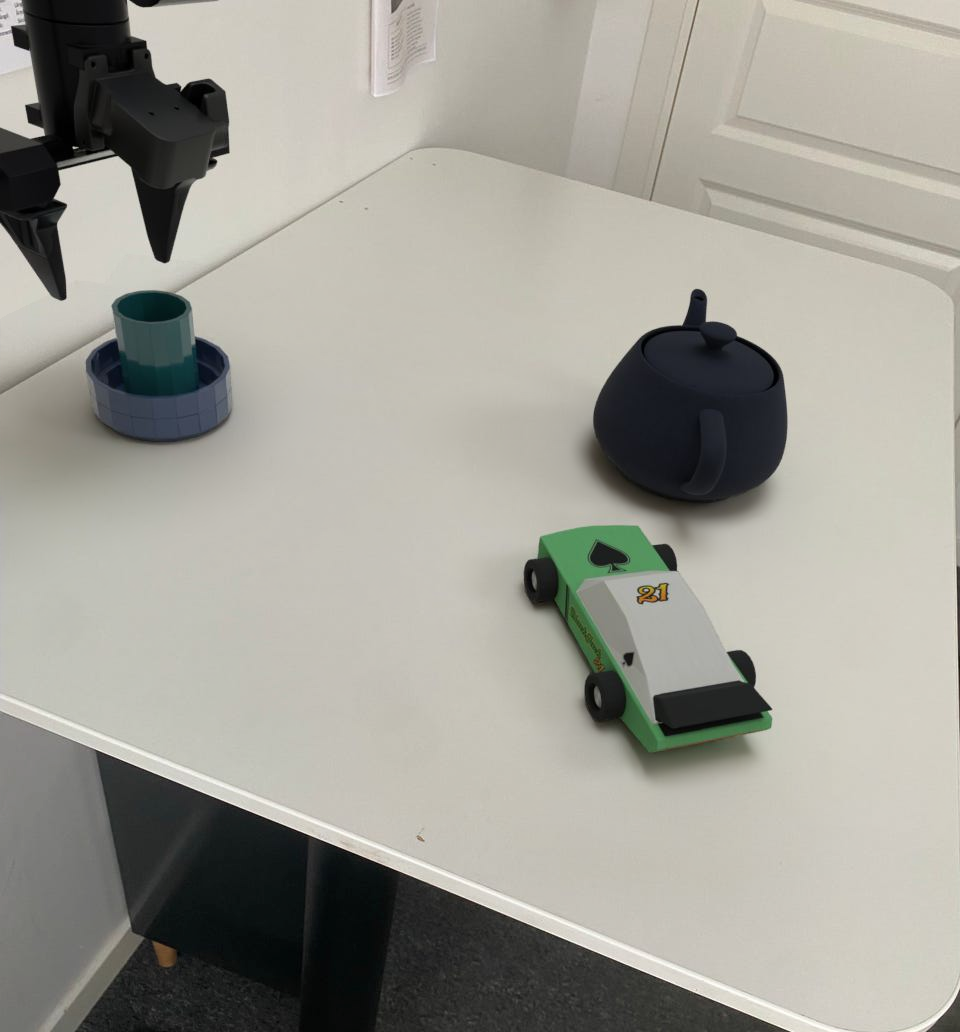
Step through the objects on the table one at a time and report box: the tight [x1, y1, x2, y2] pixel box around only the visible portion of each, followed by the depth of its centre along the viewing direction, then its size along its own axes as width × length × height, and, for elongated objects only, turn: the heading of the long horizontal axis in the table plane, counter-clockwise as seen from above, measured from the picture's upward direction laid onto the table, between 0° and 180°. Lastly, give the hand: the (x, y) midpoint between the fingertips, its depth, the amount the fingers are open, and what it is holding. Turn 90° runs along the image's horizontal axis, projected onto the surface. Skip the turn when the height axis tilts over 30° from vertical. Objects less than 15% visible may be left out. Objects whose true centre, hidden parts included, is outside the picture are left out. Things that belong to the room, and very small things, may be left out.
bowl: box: [85, 335, 234, 442], centre depth 74 cm, size 11×11×4 cm
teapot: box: [592, 288, 789, 503], centre depth 75 cm, size 25×16×12 cm, turn 174°
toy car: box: [523, 524, 773, 754], centre depth 60 cm, size 10×19×5 cm, turn 18°
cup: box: [111, 289, 200, 396], centre depth 72 cm, size 6×6×8 cm
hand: (113, 279), depth 65 cm, fingers open, 9 cm apart
